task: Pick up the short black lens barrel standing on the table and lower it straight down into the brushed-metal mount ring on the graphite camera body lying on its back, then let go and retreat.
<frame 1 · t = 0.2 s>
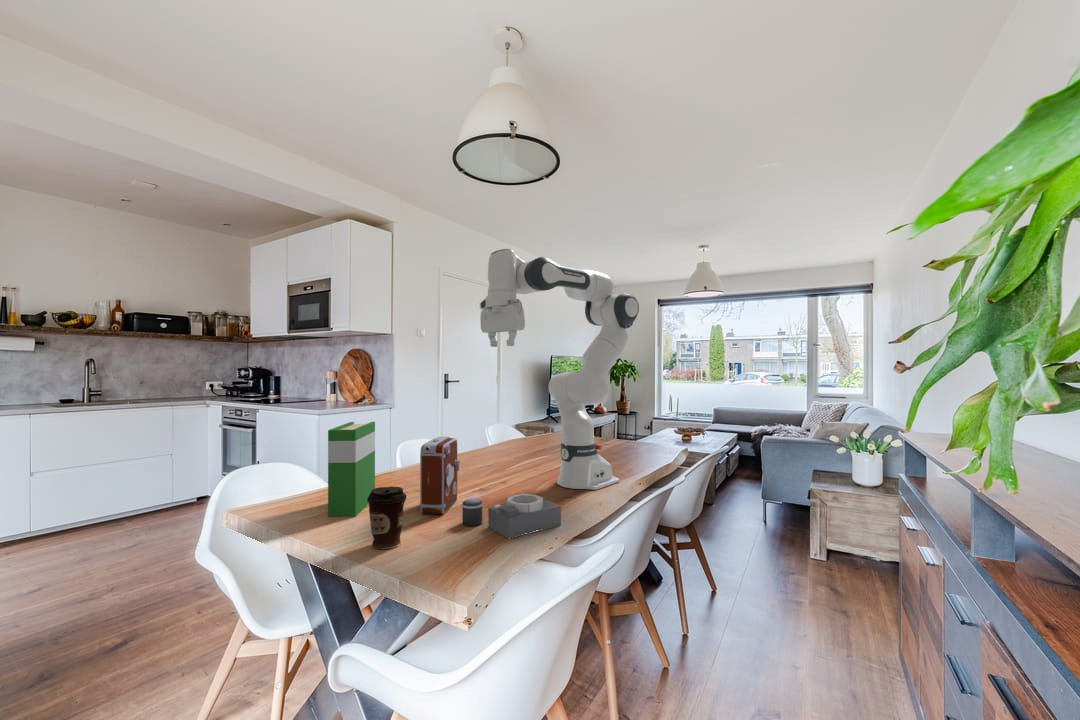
hand: (501, 346, 142), 47 cm above the table, fingers open, 8 cm apart
camera body: (524, 526, 119), on the table
cine camera: (442, 505, 137), on the table
hardback book: (353, 507, 135), on the table
coffee cup: (386, 545, 107), on the table
lens: (472, 523, 122), on the table
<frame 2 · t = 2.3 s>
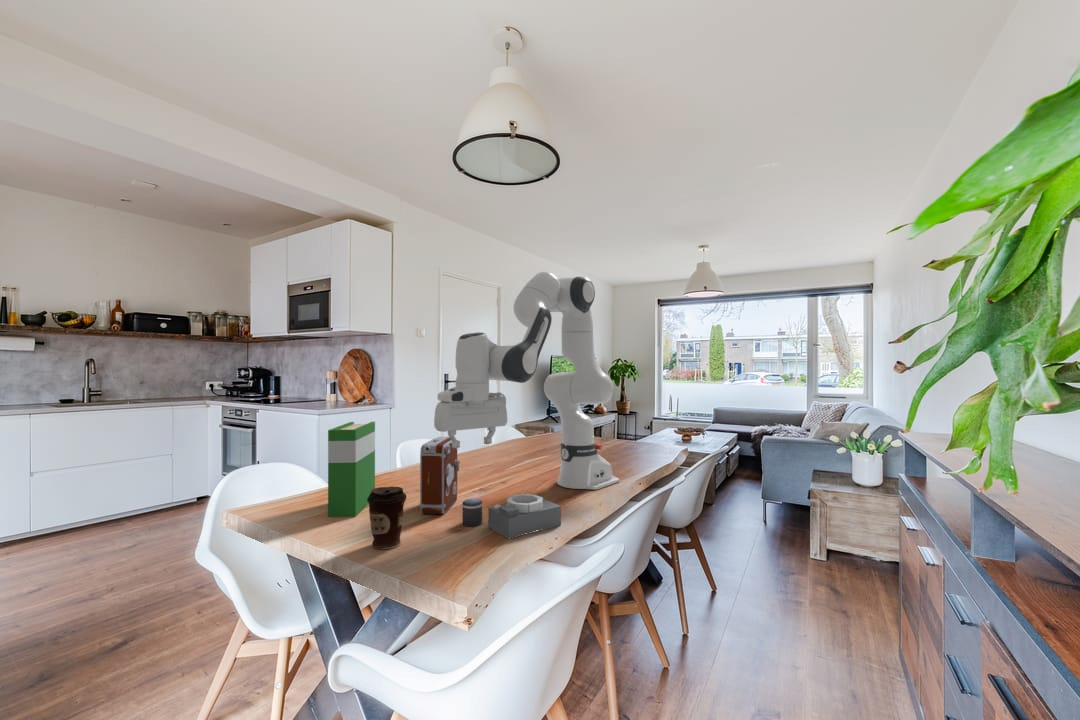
hand: (472, 445, 122), 21 cm above the table, fingers open, 8 cm apart
nothing on the table moved.
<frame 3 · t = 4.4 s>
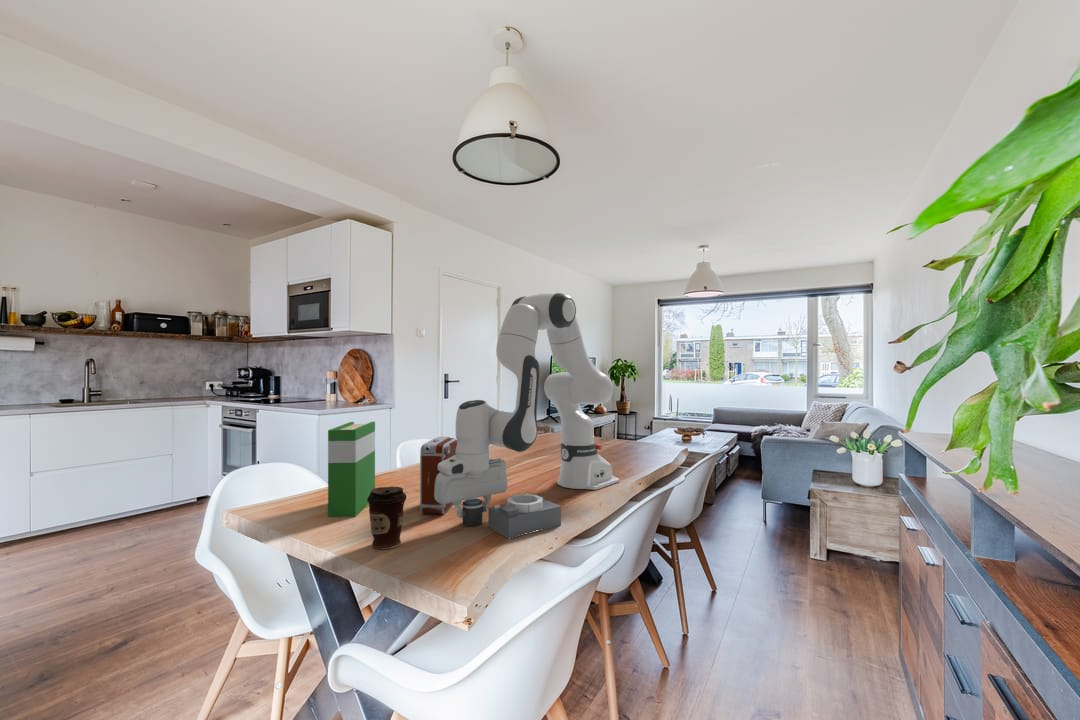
hand: (472, 514, 122), 2 cm above the table, fingers closed on lens, 5 cm apart
lens: (472, 523, 122), on the table, touching gripper
everything else where it was.
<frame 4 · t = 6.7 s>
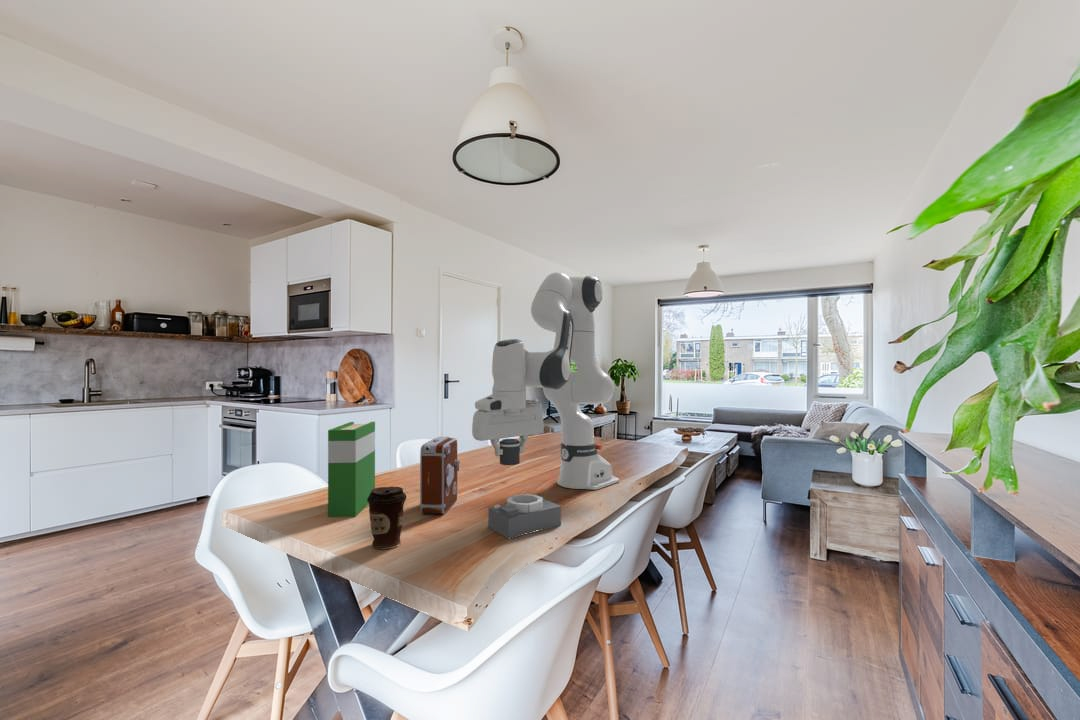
hand: (509, 453, 121), 19 cm above the table, fingers closed on lens, 5 cm apart
lens: (509, 462, 121), point 16 cm above the table, touching gripper
everything else where it was.
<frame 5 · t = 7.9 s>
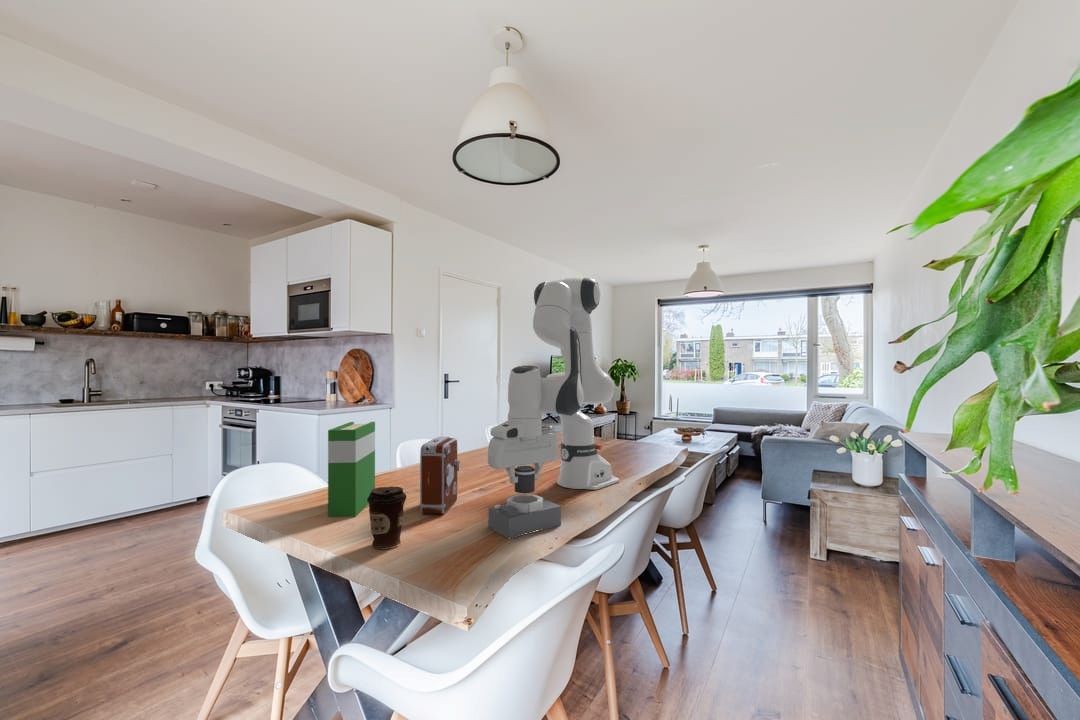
hand: (524, 481, 119), 12 cm above the table, fingers closed on lens, 5 cm apart
lens: (524, 490, 119), point 9 cm above the table, touching gripper
everything else where it was.
when the fingers open (8 cm above the table, at t = 9.1 s): lens stays where it is, resting on camera body.
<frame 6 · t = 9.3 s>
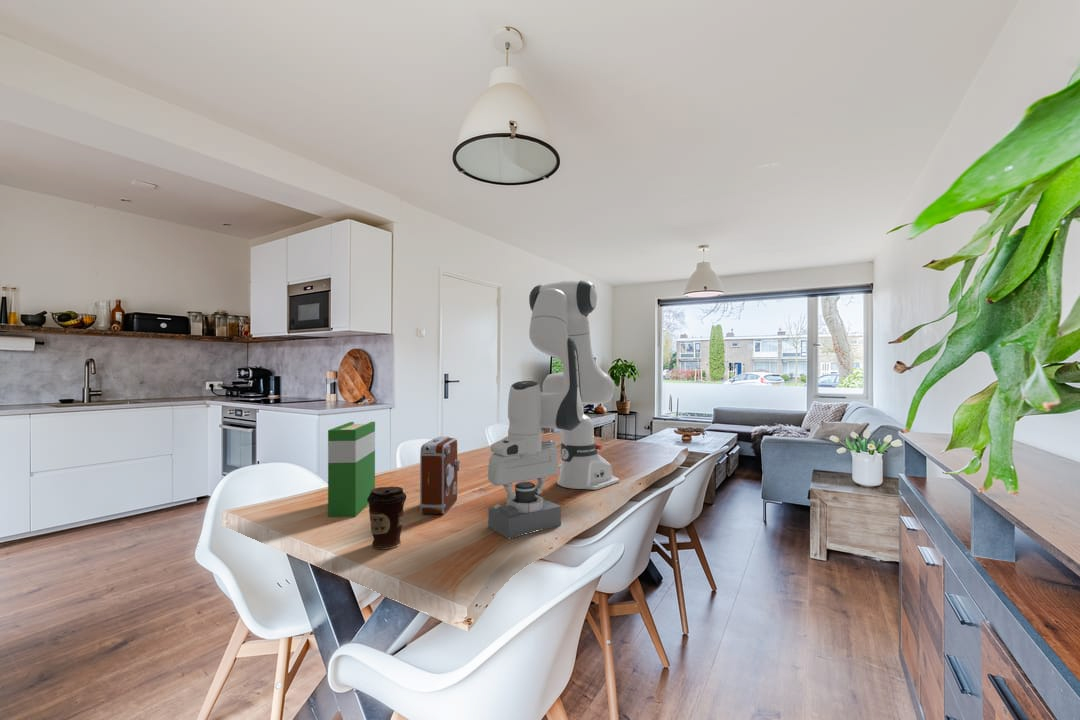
hand: (524, 496, 120), 8 cm above the table, fingers open, 7 cm apart
lens: (525, 506, 120), point 5 cm above the table, touching camera body
everything else where it was.
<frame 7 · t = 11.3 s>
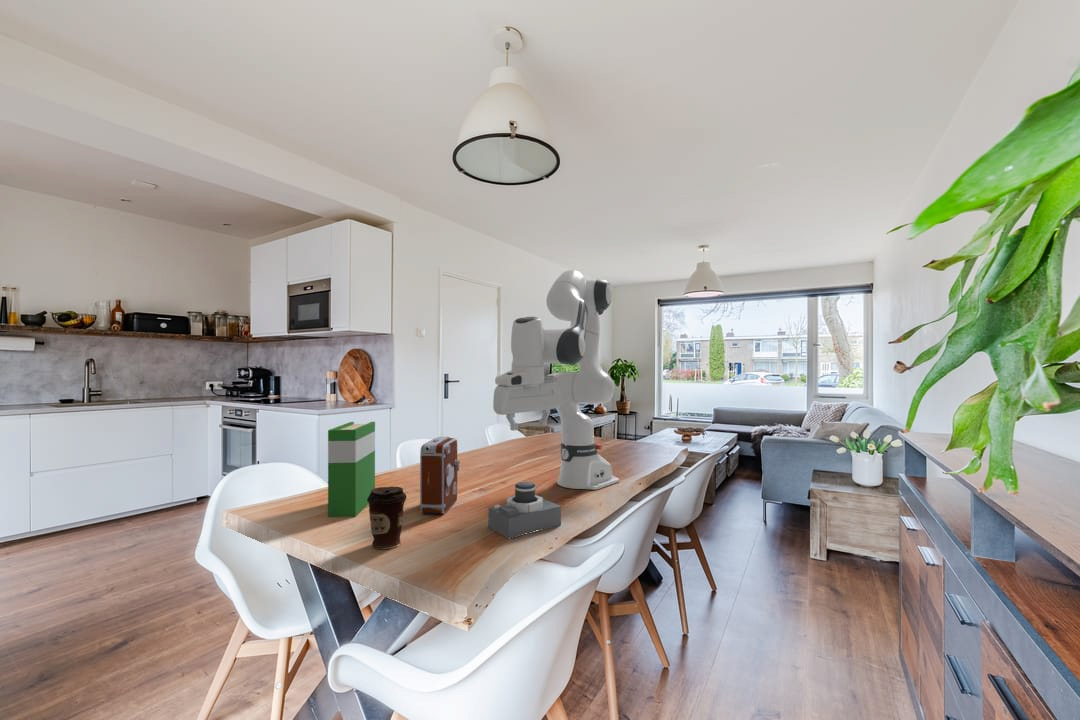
hand: (529, 427, 124), 25 cm above the table, fingers open, 8 cm apart
nothing on the table moved.
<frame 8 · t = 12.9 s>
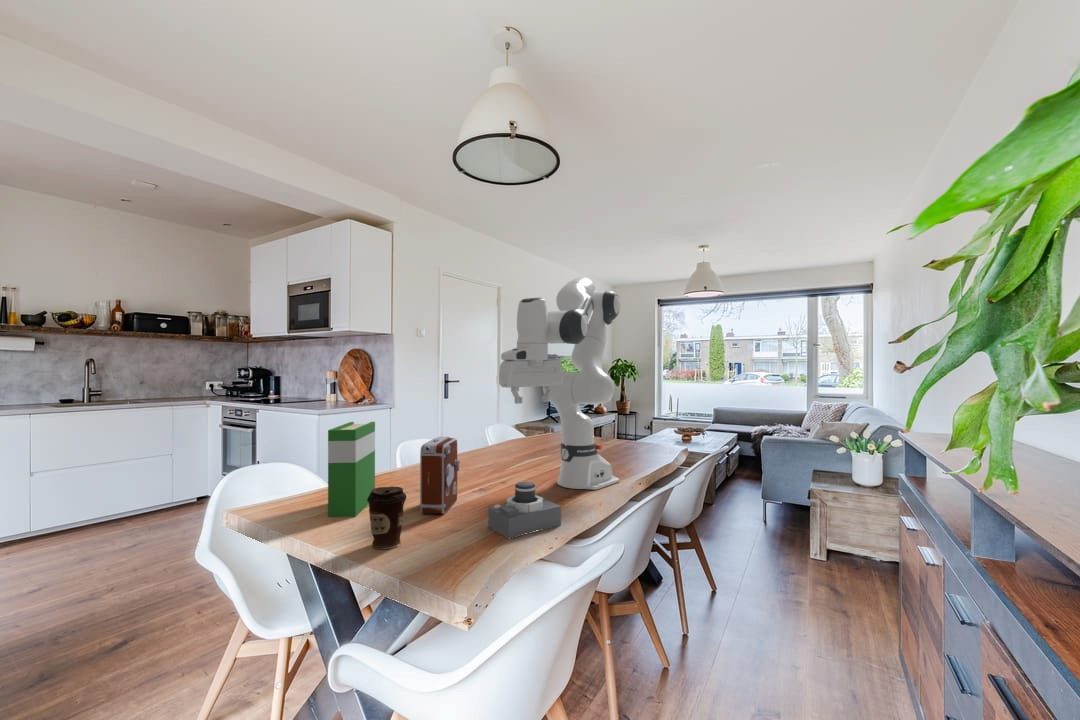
hand: (532, 402, 131), 31 cm above the table, fingers open, 8 cm apart
nothing on the table moved.
at the end: lens 0.1 cm off-centre on the camera body, point 5.0 cm above the camera body's base; lens tilted 0°; the gripper is holding nothing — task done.
